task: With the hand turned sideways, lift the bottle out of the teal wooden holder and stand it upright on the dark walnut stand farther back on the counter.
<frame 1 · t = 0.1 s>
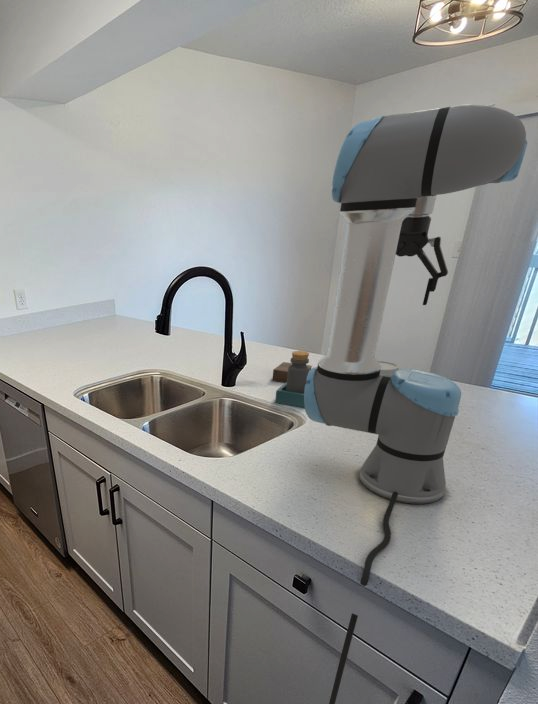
hand: (395, 303, 120), 28 cm above the worktop, tool pointing down, fingers open, 13 cm apart
holder: (294, 400, 134), on the worktop
bottle: (294, 401, 134), resting in holder
stand: (291, 378, 152), on the worktop
disposable coffee cup: (372, 405, 128), on the worktop
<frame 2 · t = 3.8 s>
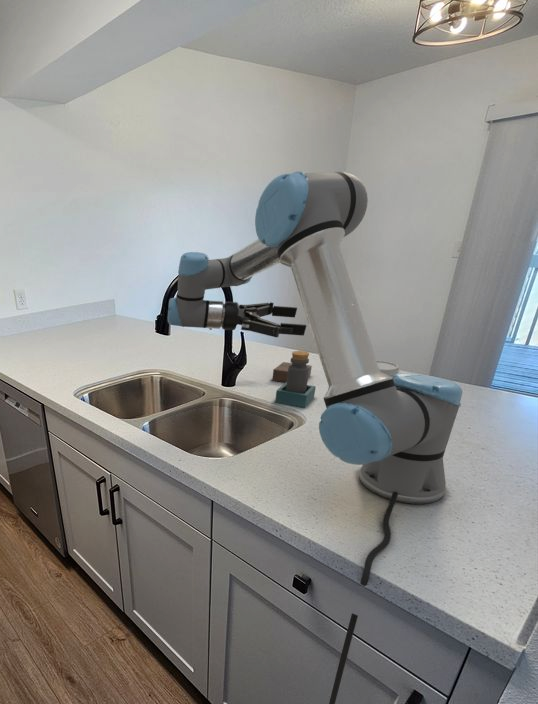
hand: (300, 320, 120), 25 cm above the worktop, tool horizontal, fingers open, 13 cm apart
nothing on the worktop moved.
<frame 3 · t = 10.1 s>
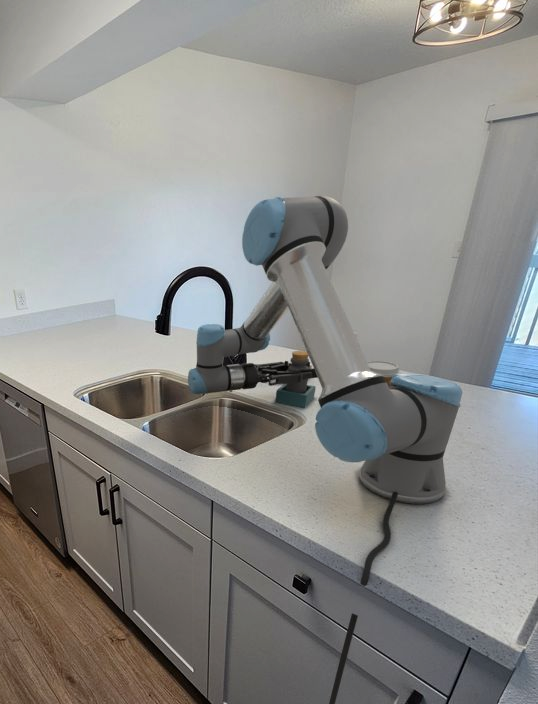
hand: (314, 369, 130), 10 cm above the worktop, tool horizontal, fingers closed on bottle, 6 cm apart
bottle: (294, 401, 134), resting in holder, touching gripper
everything else where it was.
when the fingers open (13 cm above the worktop, at t = 16.3 s): bottle stays where it is, resting on stand.
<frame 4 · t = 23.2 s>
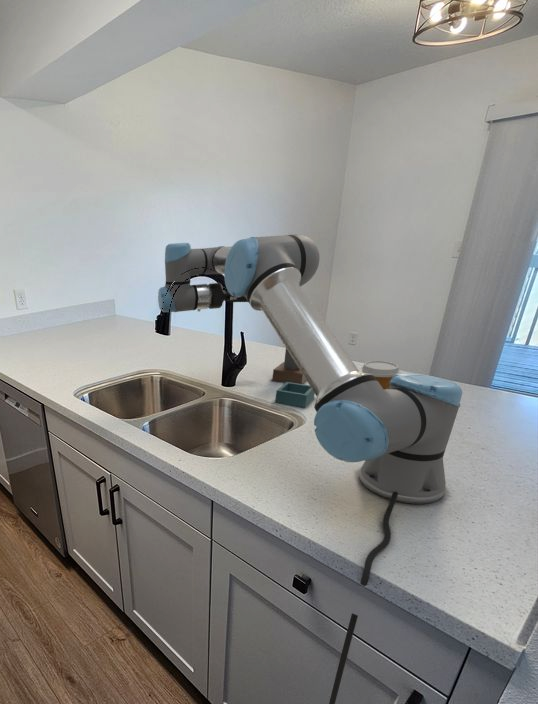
hand: (273, 291, 137), 30 cm above the worktop, tool horizontal, fingers open, 13 cm apart
bottle: (292, 368, 150), point 4 cm above the worktop, touching stand
everything else where it was.
at the end: bottle inside the target area on the stand (0.0 cm from its centre), point 3.8 cm above the stand's base; bottle tilted 0°; the gripper is holding nothing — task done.
